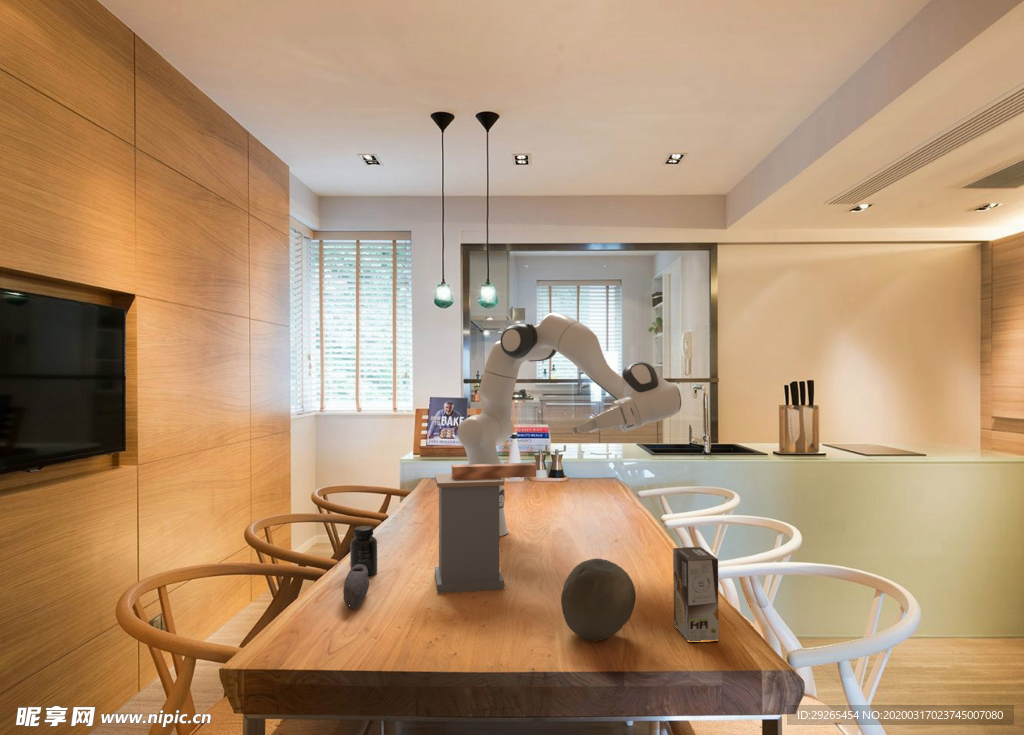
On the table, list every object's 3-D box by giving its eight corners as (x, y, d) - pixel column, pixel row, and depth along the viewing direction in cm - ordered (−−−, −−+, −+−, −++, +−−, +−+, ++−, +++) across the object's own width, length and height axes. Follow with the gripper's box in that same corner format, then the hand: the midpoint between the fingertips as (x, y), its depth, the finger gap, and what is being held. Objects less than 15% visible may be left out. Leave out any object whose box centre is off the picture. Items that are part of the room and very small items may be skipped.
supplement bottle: (382, 571, 164) (382, 525, 165) (368, 579, 158) (368, 532, 158) (359, 568, 167) (359, 523, 167) (344, 576, 160) (345, 529, 160)
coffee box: (720, 642, 120) (720, 559, 121) (688, 643, 120) (687, 560, 120) (702, 623, 130) (701, 546, 130) (671, 624, 129) (671, 547, 129)
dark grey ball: (588, 659, 113) (588, 576, 114) (548, 631, 126) (548, 556, 126) (649, 644, 120) (649, 565, 120) (605, 618, 132) (605, 547, 133)
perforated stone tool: (361, 615, 135) (361, 582, 135) (336, 616, 134) (336, 583, 134) (372, 591, 150) (372, 562, 150) (349, 591, 149) (349, 562, 149)
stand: (437, 593, 148) (437, 483, 148) (434, 574, 162) (434, 474, 162) (504, 589, 151) (504, 481, 151) (495, 571, 164) (495, 472, 165)
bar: (452, 479, 154) (452, 467, 154) (451, 476, 158) (451, 464, 158) (536, 476, 157) (536, 465, 157) (533, 474, 161) (533, 462, 161)
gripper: (613, 407, 179) (567, 421, 178) (627, 400, 159) (575, 416, 158) (620, 428, 178) (574, 442, 177) (635, 423, 158) (583, 440, 157)
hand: (575, 430), depth 167 cm, fingers open, 8 cm apart
